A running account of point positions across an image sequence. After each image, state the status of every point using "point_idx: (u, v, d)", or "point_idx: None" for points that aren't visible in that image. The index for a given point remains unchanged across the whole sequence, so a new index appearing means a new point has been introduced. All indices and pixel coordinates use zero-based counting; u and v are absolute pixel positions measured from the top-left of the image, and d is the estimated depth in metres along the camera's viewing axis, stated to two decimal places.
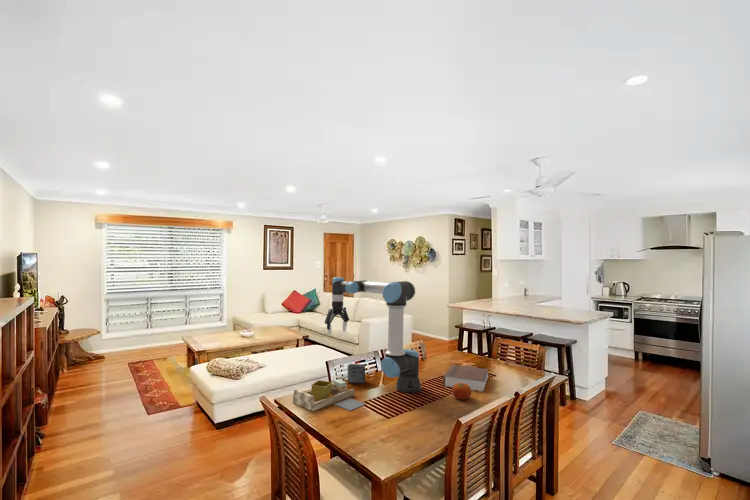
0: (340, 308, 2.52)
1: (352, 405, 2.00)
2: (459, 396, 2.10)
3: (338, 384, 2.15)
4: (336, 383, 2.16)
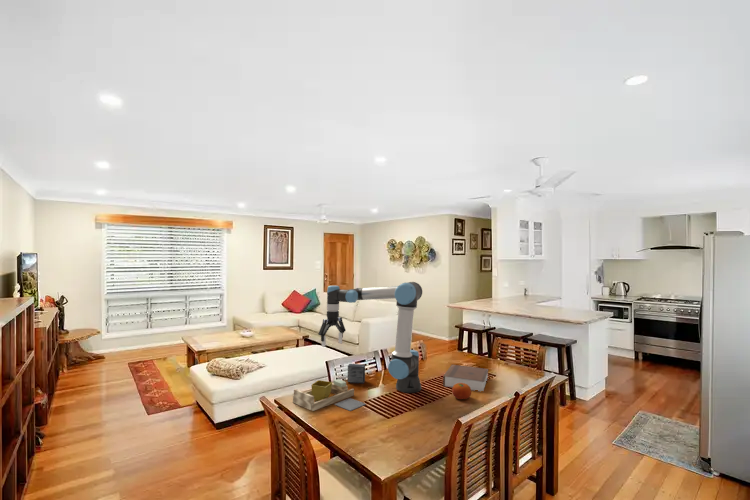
0: (335, 318, 2.36)
1: (352, 405, 2.00)
2: (459, 396, 2.10)
3: (339, 384, 2.15)
4: (336, 383, 2.17)
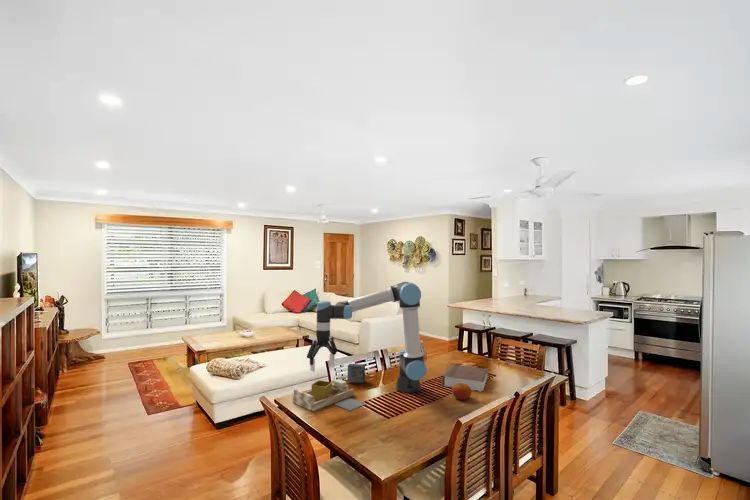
0: (326, 338, 2.09)
1: (352, 405, 2.00)
2: (459, 396, 2.10)
3: (339, 384, 2.15)
4: (336, 383, 2.17)
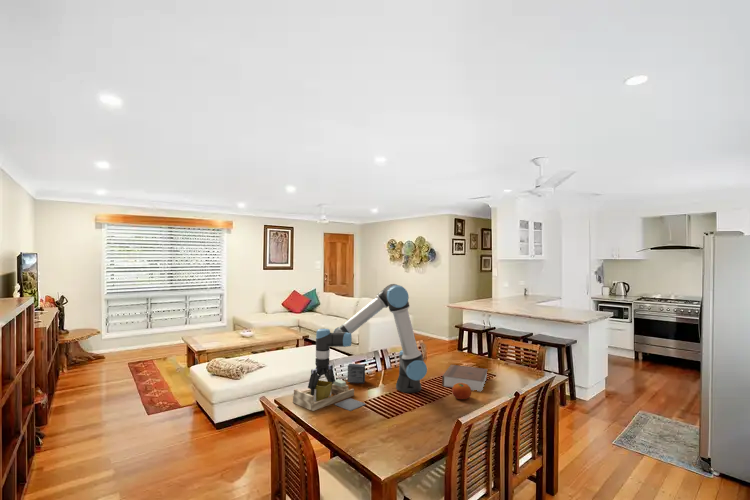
0: (326, 366, 2.09)
1: (352, 405, 2.00)
2: (459, 396, 2.10)
3: (338, 384, 2.15)
4: (336, 383, 2.16)
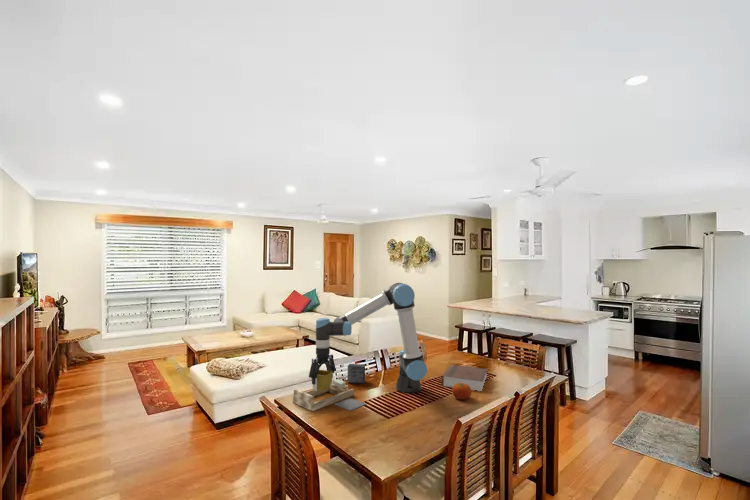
0: (326, 355, 2.09)
1: (352, 405, 2.00)
2: (459, 396, 2.10)
3: (338, 384, 2.15)
4: (335, 383, 2.16)
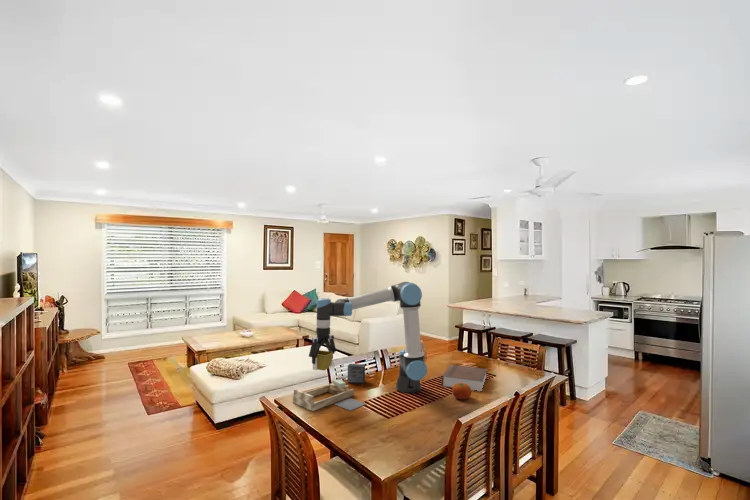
0: (327, 335, 2.09)
1: (352, 405, 2.00)
2: (459, 396, 2.10)
3: (338, 384, 2.14)
4: (336, 383, 2.16)
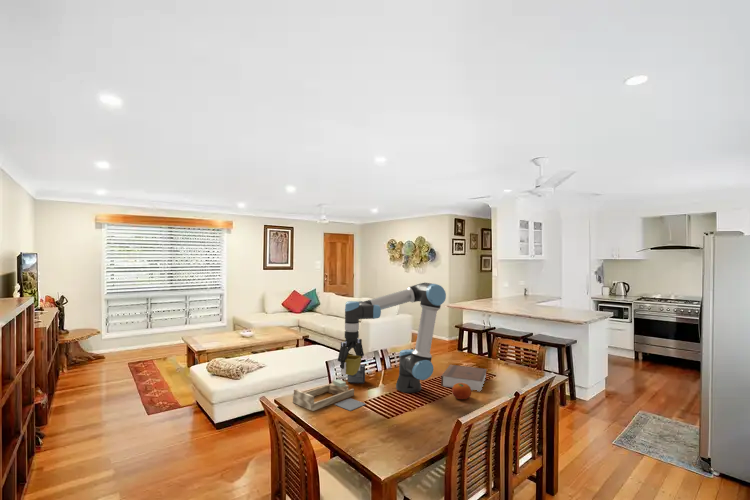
0: (355, 339, 2.03)
1: (352, 405, 2.00)
2: (459, 396, 2.10)
3: (338, 384, 2.15)
4: (336, 383, 2.16)
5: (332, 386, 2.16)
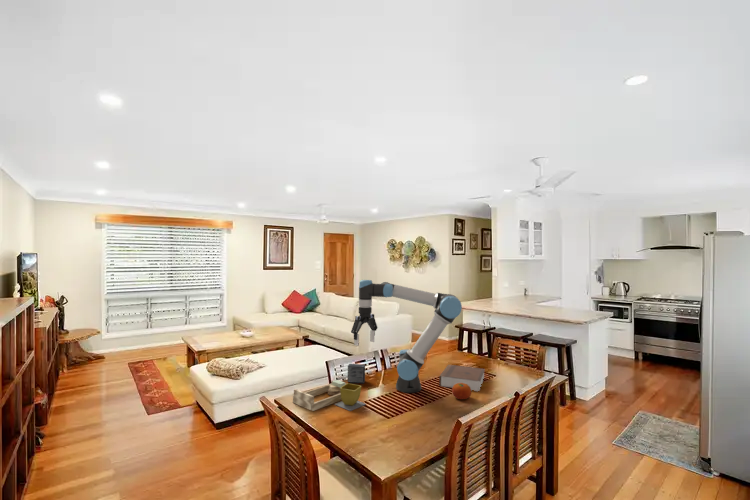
0: (368, 315, 2.20)
1: None
2: (459, 396, 2.10)
3: (338, 384, 2.14)
4: (335, 384, 2.15)
5: (334, 388, 2.14)
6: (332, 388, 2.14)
